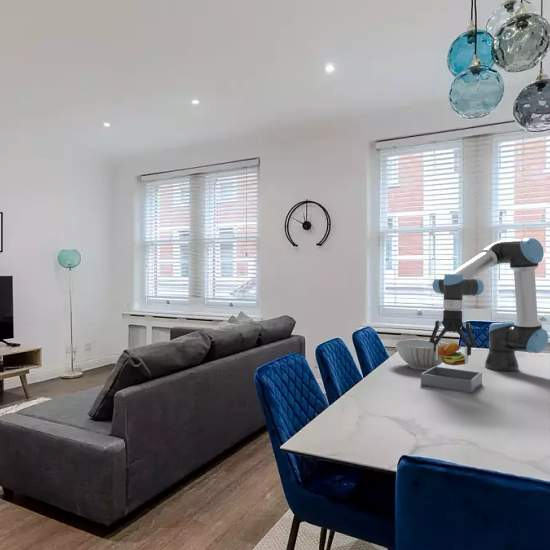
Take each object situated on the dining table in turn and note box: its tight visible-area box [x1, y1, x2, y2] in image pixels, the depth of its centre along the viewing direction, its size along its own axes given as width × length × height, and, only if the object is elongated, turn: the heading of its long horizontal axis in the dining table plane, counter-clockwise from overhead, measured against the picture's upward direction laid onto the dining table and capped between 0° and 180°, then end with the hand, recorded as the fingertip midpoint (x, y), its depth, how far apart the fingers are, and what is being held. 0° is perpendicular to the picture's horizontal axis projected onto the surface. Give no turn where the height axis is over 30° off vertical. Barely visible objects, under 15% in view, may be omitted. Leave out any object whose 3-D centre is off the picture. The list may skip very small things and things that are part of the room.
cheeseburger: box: [438, 342, 467, 366], centre depth 188 cm, size 10×11×10 cm
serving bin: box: [420, 366, 483, 395], centre depth 188 cm, size 19×20×5 cm
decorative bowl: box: [395, 339, 449, 371], centre depth 222 cm, size 27×27×12 cm
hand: (451, 361), depth 188 cm, fingers closed on cheeseburger, 11 cm apart
